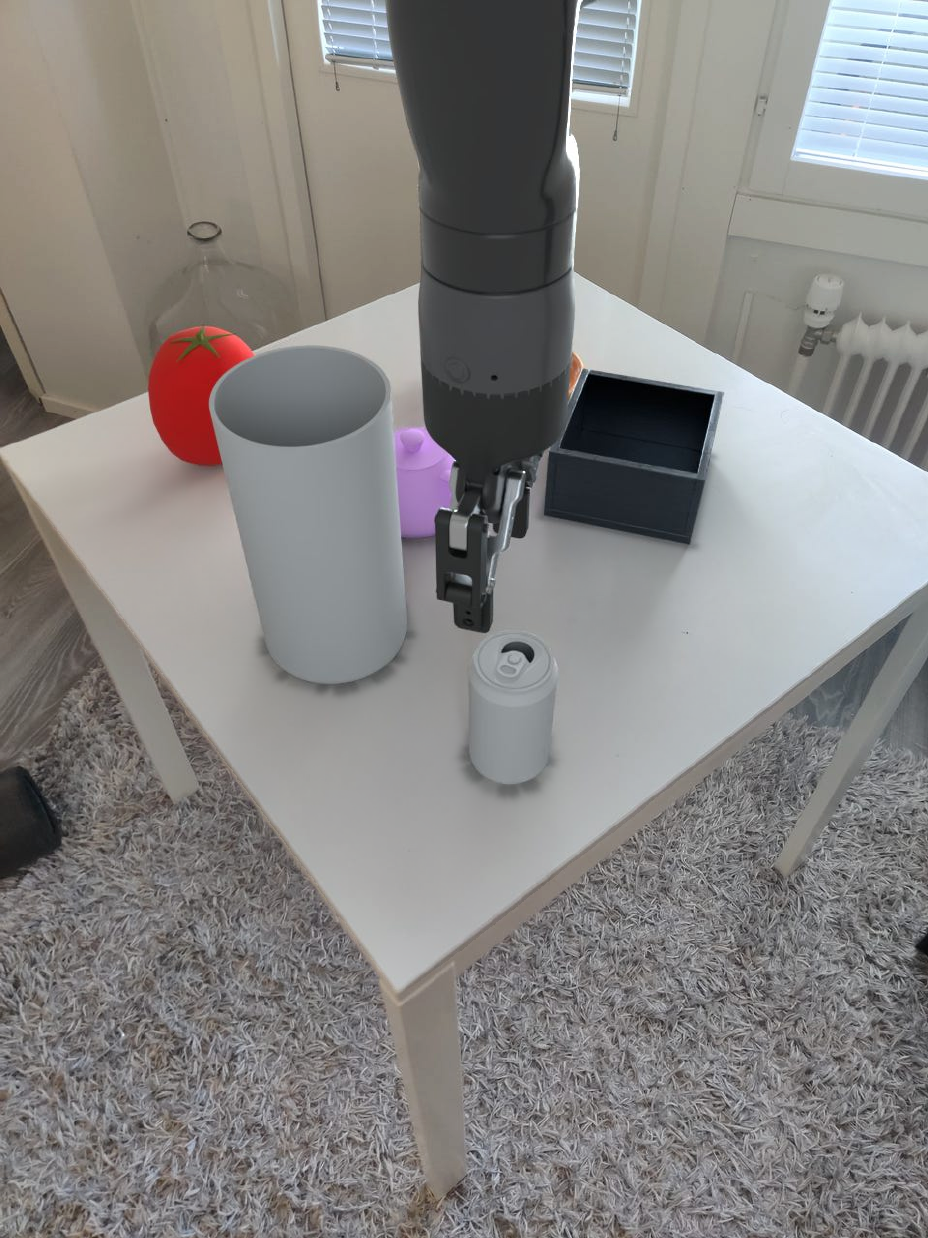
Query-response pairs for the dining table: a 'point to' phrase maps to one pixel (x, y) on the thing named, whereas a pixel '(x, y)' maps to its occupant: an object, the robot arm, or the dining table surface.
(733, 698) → the dining table surface
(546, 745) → the beverage can
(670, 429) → the dark gray open box
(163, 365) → the tomato
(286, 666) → the cylinder vase
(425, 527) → the teapot
